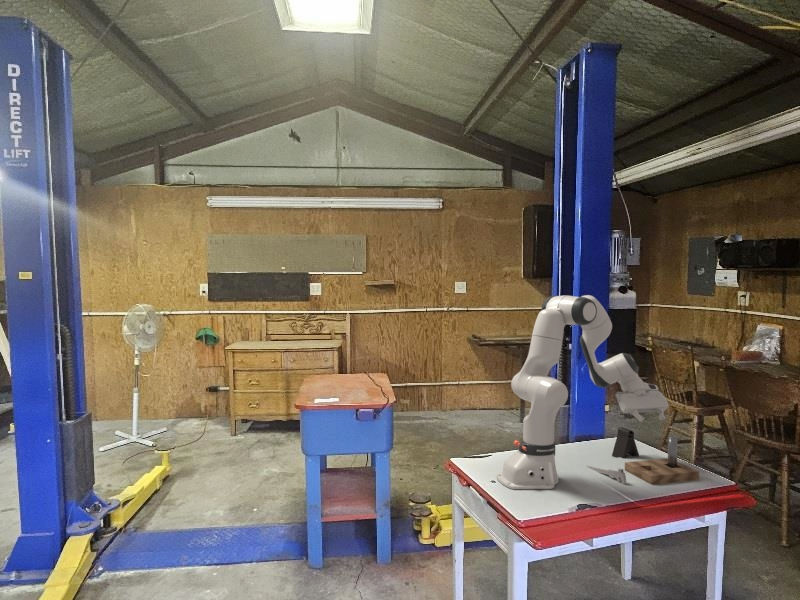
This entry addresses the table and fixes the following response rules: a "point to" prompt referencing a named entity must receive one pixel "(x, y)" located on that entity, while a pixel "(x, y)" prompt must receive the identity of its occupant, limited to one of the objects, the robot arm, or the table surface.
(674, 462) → the peg
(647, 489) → the table surface
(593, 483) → the table surface
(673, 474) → the hole block
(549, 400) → the robot arm
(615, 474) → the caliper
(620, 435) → the black a-frame stand
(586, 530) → the table surface
